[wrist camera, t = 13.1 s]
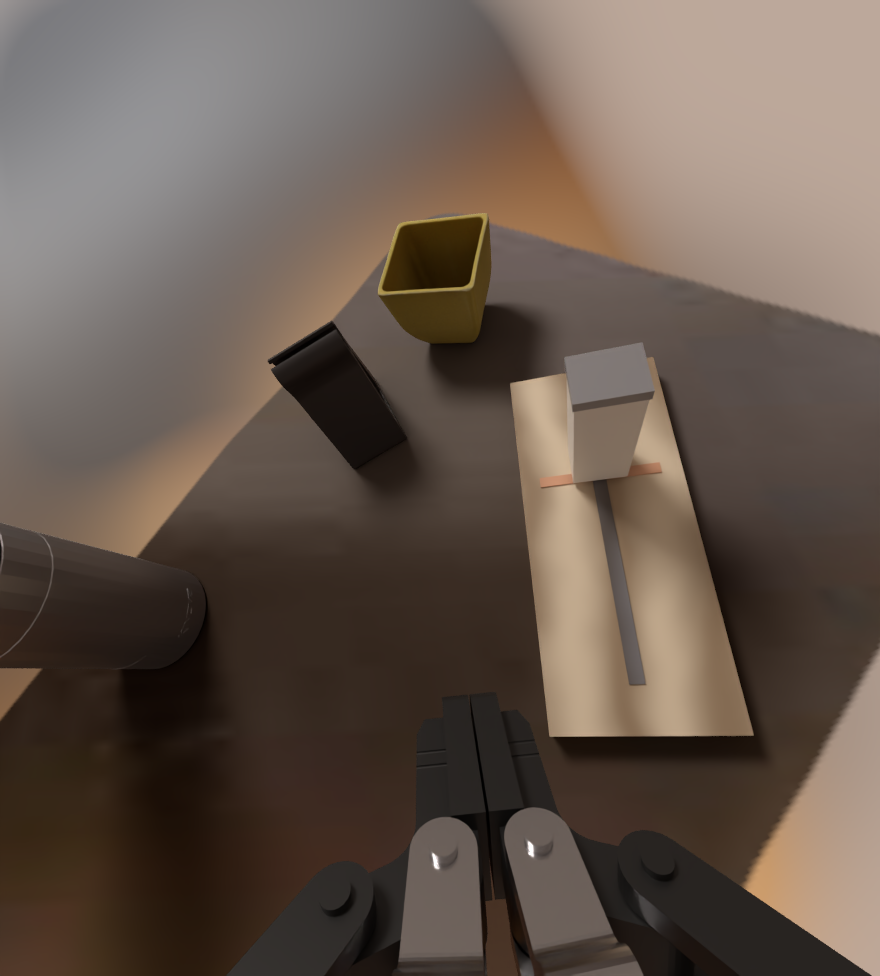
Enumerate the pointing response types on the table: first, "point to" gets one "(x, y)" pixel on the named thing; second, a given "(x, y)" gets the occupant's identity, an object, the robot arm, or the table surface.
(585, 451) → the fader knob
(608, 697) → the wooden slider board
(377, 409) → the phone stand
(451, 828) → the robot arm
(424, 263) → the flower pot
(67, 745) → the table surface
